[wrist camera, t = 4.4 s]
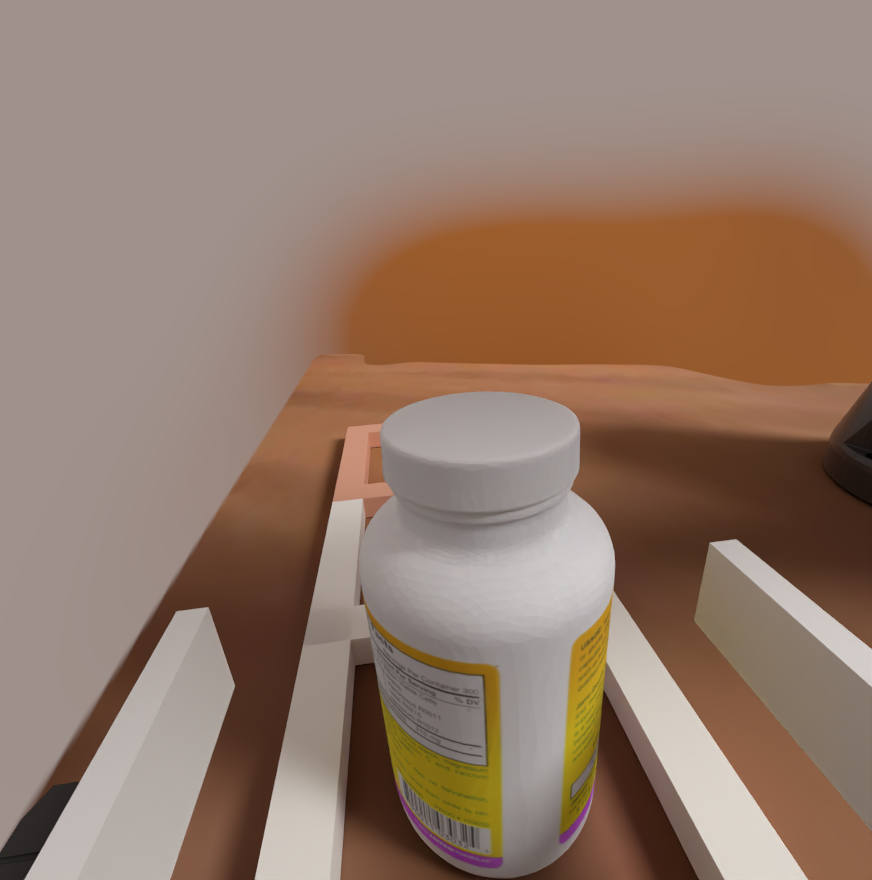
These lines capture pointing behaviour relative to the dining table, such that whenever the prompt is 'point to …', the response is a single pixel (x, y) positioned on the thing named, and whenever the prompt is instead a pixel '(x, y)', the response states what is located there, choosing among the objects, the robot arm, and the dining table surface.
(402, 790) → the supplement bottle
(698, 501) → the dining table surface
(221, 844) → the dining table surface
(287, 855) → the rack
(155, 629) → the dining table surface
